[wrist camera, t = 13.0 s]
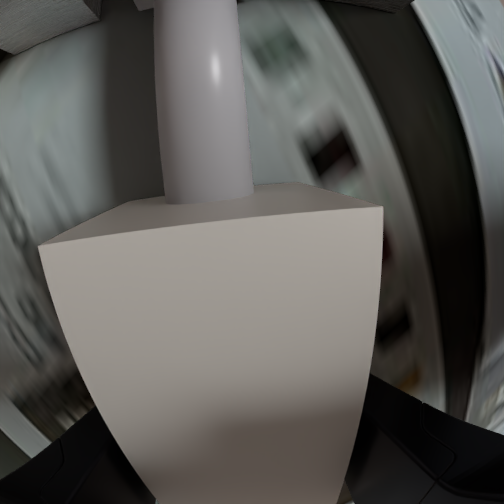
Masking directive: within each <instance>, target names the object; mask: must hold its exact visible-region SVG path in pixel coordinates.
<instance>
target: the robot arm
mask: <svg viewBox="0 0 504 504" xmlns="http://www.w3.org/2000/svg"><path fill="white" fill-rule="evenodd" d="M344 479H345V482H346V484H347V486H348V489H349V491H350V494H351V496H352V498H353V501H354V503H355V504H504V435H502V434H499V433H496V432H493V431H490V430H487V429H484V428H481V427H478V426H476V425H473V424H470V423H468V422H465V421H462V420H460V419H457V418H455V417H453V416H450V415H448V414H446V413H444V412H442V411H440V410H438V409H436V408H434V407H432V406H430V405H428V404H426V403H423V404H422V401H420V400H418V399H416V398H415V397H413V396H411V395H409V394H407V393H405V392H403V391H401V390H400V389H398V388H396V387H394V386H392V385H390V384H389V383H387V382H385V381H383V380H381V379H380V378H378V377H376V376H374V375H372V374H371V373H369V378H368V384H367V389H366V394H365V399H364V404H363V409H362V413H361V418H360V422H359V427H358V431H357V435H356V439H355V443H354V447H353V451H352V454H351V458H350V461H349V465H348V468H347V472H346V475H345V478H344ZM155 501H156V498H155V497H154V496H153V494H152V493H151V492H150V490H149V489H148V488H147V486H146V485H145V484H144V482H143V481H142V479H141V478H140V477H139V475H138V474H137V472H136V471H135V469H134V468H133V466H132V465H131V464H130V462H129V461H128V459H127V457H126V456H125V454H124V453H123V451H122V450H121V448H120V446H119V445H118V443H117V442H116V440H115V438H114V437H113V435H112V433H111V432H110V430H109V428H108V426H107V425H106V423H105V421H104V419H103V417H102V416H101V414H100V412H99V410H98V408H97V406H95V407H93V408H92V409H91V410H90V411H89V412H88V413H86V414H85V415H84V416H83V417H82V418H81V419H79V420H78V421H77V422H76V423H75V424H74V425H72V426H71V427H70V428H69V429H68V430H67V431H65V432H64V433H63V434H62V435H61V436H60V438H57V439H56V440H55V441H54V442H52V443H51V444H50V445H49V446H48V447H46V448H45V449H44V450H43V451H41V452H40V453H39V454H38V455H36V456H35V457H34V458H32V459H31V460H29V461H28V462H26V463H25V464H24V465H22V466H21V467H19V468H18V469H16V470H15V471H13V472H12V473H10V474H8V475H7V476H5V477H4V478H2V479H1V480H0V504H155Z"/></svg>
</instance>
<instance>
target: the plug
mask: <svg viewBox="0 0 504 504" xmlns="http://www.w3.org/2000/svg"><path fill="white" fill-rule="evenodd" d="M133 1H134V3H135V4H136V6H137V8H138V10H139V11H141V10H146V9H150V8H154V65H155V89H156V106H157V121H158V133H159V145H160V155H161V165H162V175H163V183H164V192H165V196H160V197H153V198H146V199H140V200H133V201H128V202H126V203H124V204H122V205H119V206H117V207H115V208H113V209H111V210H108V211H106V212H104V213H102V214H100V215H98V216H96V217H93V218H91V219H89V220H87V221H85V222H83V223H81V224H79V225H77V226H75V227H73V228H71V229H69V230H67V231H65V232H63V233H61V234H59V235H57V236H55V237H53V238H52V239H50V240H48V241H46V242H44V243H42V244H40V245H39V246H38V249H39V253H40V258H41V262H42V266H43V269H44V273H45V277H46V280H47V284H48V287H49V291H50V294H51V297H52V300H53V304H54V307H55V310H56V313H57V316H58V319H59V321H60V324H61V327H62V330H63V332H64V335H65V338H66V340H67V343H68V345H69V348H70V350H71V353H72V355H73V357H74V360H75V362H76V364H77V367H78V369H79V371H80V373H81V376H82V378H83V380H84V382H85V384H86V386H87V388H88V390H89V392H90V395H91V397H92V398H93V400H94V402H95V404H96V406H97V408H98V410H99V412H100V414H101V416H102V417H103V419H104V421H105V423H106V425H107V426H108V428H109V430H110V432H111V433H112V435H113V437H114V438H115V440H116V442H117V443H118V445H119V446H120V448H121V450H122V451H123V453H124V454H125V456H126V457H127V459H128V461H129V462H130V464H131V465H132V466H133V468H134V469H135V471H136V472H137V474H138V475H139V477H140V478H141V479H142V481H143V482H144V484H145V485H146V486H147V488H148V489H149V490H150V492H151V493H152V494H153V496H154V497H155V498H156V499H157V501H158V502H159V503H160V504H336V503H337V500H338V497H339V494H340V491H341V488H342V485H343V482H344V478H345V475H346V472H347V468H348V465H349V461H350V458H351V454H352V451H353V447H354V443H355V439H356V435H357V431H358V427H359V422H360V418H361V413H362V409H363V404H364V399H365V394H366V389H367V384H368V378H369V372H370V366H371V360H372V354H373V347H374V340H375V332H376V324H377V315H378V305H379V294H380V282H381V267H382V247H383V206H380V205H377V204H374V203H370V202H367V201H364V200H361V199H357V198H354V197H350V196H347V195H343V194H340V193H336V192H333V191H329V190H326V189H322V188H318V187H315V186H311V185H307V184H303V183H299V182H293V183H279V184H267V185H255V186H253V175H252V164H251V152H250V141H249V129H248V118H247V107H246V96H245V85H244V74H243V64H242V53H241V43H240V32H239V22H238V11H237V1H236V0H133Z"/></svg>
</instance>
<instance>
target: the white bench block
mask: <svg viewBox="0 0 504 504" xmlns="http://www.w3.org/2000/svg"><path fill="white" fill-rule="evenodd" d="M327 1H335V2H342V3H348V4H354V5H359V6H365V7H370V8H375V9H379V10H383V11H388V12H392V13H397V12H398V11H399V10H401V9H402V8H404V7H405V6H407V5H408V4H410V3H411V2H413V1H414V0H327ZM101 5H102V0H0V49H3V50H5V51H7V52H10V53H12V54H14V55H16V54H18V53H20V52H22V51H24V50H26V49H28V48H31V47H33V46H35V45H37V44H39V43H41V42H44V41H46V40H48V39H51V38H53V37H55V36H58V35H60V34H63V33H65V32H68V31H71V30H73V29H76V28H79V27H82V26H84V25H87V24H90V23H93V22H97V21H100V15H101Z"/></svg>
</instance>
